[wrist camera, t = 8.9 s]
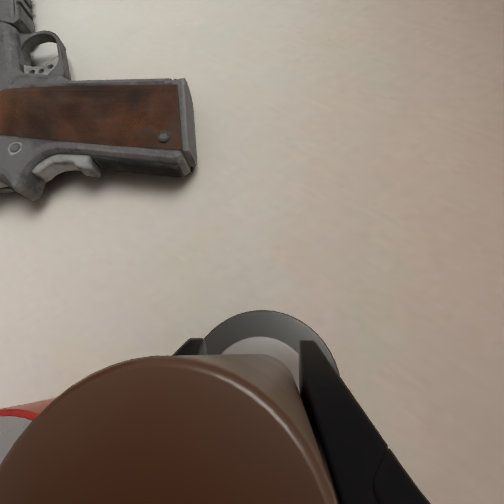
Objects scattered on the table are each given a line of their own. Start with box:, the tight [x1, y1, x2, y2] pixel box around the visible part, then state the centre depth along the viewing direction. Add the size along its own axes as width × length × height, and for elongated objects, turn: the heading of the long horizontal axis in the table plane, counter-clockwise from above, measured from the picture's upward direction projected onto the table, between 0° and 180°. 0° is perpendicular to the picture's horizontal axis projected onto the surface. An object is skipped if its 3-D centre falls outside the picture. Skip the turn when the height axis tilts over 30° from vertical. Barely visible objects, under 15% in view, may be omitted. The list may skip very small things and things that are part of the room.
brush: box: [0, 310, 340, 504], centre depth 9 cm, size 6×6×14 cm
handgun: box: [0, 0, 197, 201], centre depth 21 cm, size 3×22×14 cm
